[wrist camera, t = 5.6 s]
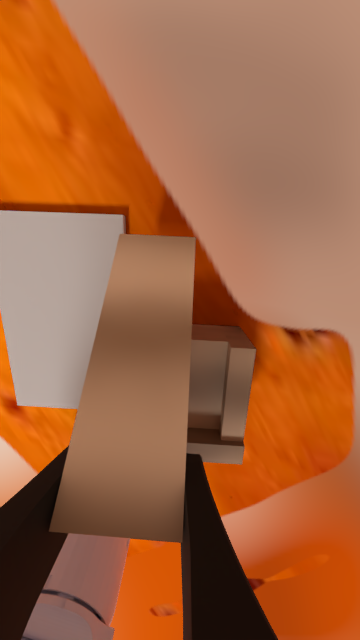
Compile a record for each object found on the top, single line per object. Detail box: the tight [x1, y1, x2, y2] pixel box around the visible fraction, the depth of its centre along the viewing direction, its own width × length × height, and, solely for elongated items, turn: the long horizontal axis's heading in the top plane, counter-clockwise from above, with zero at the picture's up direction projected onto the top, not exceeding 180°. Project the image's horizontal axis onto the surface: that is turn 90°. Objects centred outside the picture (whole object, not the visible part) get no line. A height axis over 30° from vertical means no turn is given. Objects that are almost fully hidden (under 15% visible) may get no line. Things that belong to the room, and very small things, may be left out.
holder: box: [186, 324, 256, 464], centre depth 17 cm, size 8×8×5 cm
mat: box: [0, 210, 126, 409], centre depth 18 cm, size 16×10×1 cm, turn 178°
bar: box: [49, 234, 196, 543], centre depth 10 cm, size 12×4×3 cm
